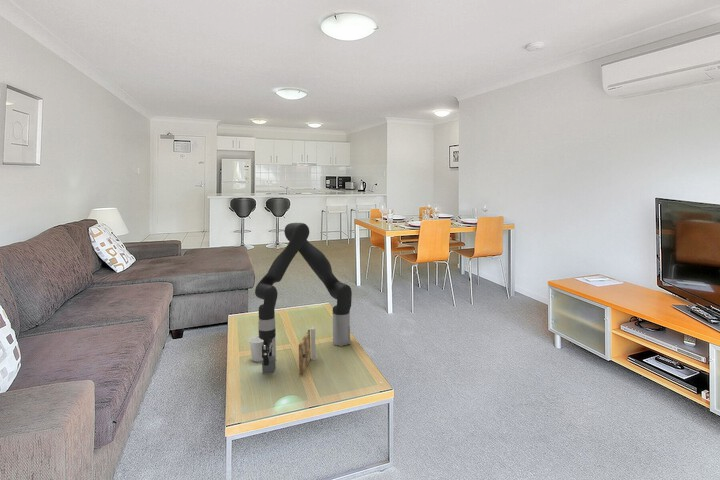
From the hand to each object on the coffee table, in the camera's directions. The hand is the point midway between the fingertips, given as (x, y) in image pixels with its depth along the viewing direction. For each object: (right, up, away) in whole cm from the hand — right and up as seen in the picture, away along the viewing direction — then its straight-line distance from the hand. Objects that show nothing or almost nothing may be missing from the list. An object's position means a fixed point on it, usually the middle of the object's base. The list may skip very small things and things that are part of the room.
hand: (267, 360), depth 169 cm
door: (+17, -4, +4) cm, 18 cm away
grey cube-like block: (0, -5, +1) cm, 5 cm away
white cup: (-7, -3, +13) cm, 15 cm away
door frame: (+10, -3, +11) cm, 15 cm away
